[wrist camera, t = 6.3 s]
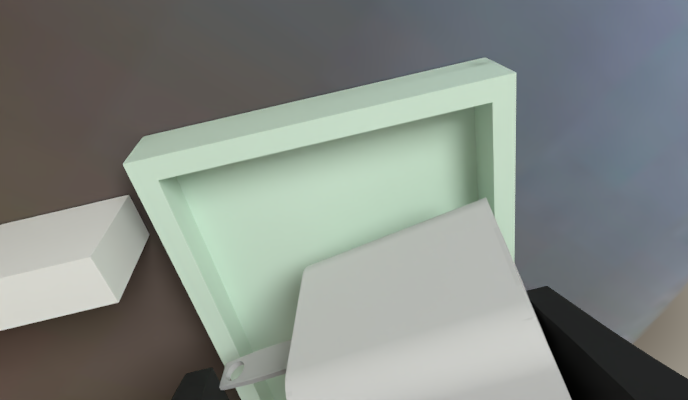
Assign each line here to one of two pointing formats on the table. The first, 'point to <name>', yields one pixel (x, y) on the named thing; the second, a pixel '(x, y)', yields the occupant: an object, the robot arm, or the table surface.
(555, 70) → the table surface
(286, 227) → the tray
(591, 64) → the table surface
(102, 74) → the table surface
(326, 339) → the usb wall charger
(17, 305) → the bay
